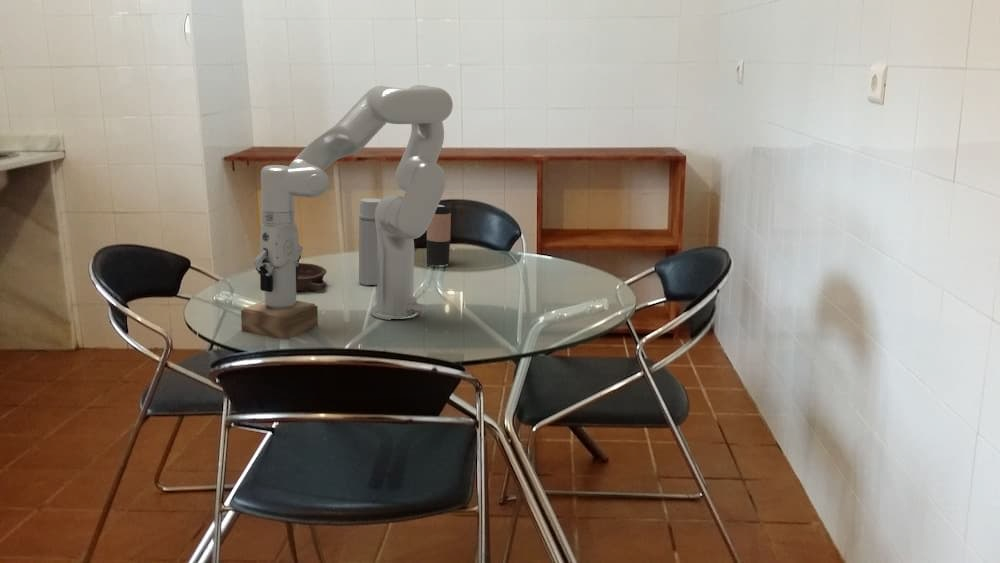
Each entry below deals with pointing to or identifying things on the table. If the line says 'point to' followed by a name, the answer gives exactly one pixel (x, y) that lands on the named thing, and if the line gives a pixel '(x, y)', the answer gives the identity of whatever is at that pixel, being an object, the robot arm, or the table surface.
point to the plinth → (279, 319)
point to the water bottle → (368, 242)
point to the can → (282, 287)
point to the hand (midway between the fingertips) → (279, 286)
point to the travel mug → (439, 236)
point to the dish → (310, 277)
